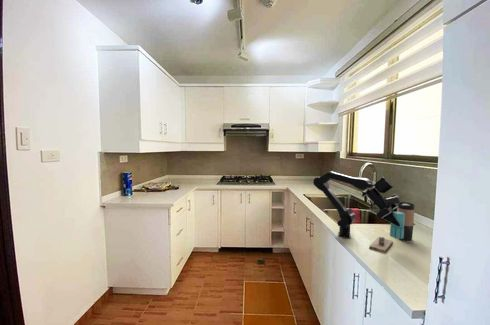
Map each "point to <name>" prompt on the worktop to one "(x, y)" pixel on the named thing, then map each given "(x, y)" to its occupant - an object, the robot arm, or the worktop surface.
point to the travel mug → (407, 219)
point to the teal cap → (398, 230)
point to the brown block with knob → (381, 244)
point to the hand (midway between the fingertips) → (400, 224)
